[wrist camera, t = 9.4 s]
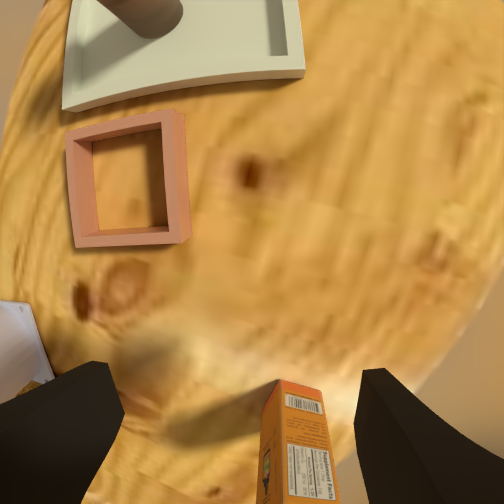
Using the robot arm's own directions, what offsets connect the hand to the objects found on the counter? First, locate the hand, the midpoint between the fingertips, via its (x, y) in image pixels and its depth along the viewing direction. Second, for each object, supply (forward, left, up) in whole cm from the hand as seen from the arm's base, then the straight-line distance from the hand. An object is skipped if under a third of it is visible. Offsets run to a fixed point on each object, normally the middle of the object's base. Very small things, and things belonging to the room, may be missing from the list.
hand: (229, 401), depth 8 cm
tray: (-4, +16, -10) cm, 20 cm away
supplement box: (+2, -9, -11) cm, 14 cm away
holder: (-7, +6, -10) cm, 14 cm away
